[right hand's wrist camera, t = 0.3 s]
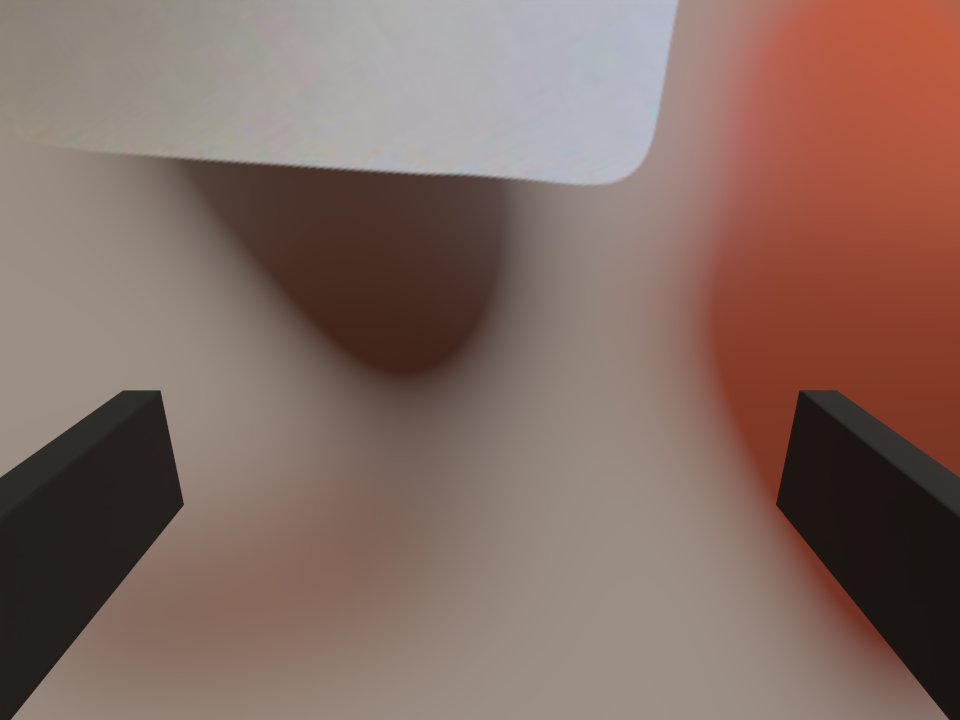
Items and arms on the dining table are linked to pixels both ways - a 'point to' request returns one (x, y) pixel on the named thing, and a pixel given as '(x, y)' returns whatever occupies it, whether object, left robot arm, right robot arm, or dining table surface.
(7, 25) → the dining table surface
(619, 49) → the dining table surface
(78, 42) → the dining table surface
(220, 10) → the dining table surface
